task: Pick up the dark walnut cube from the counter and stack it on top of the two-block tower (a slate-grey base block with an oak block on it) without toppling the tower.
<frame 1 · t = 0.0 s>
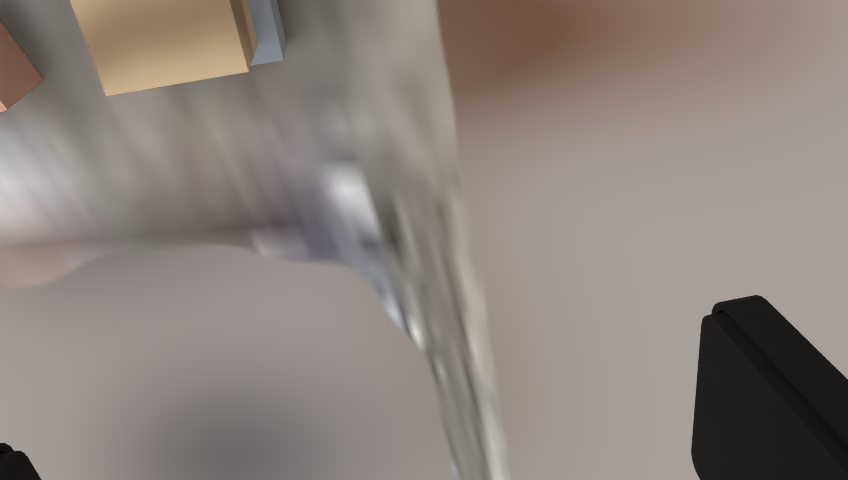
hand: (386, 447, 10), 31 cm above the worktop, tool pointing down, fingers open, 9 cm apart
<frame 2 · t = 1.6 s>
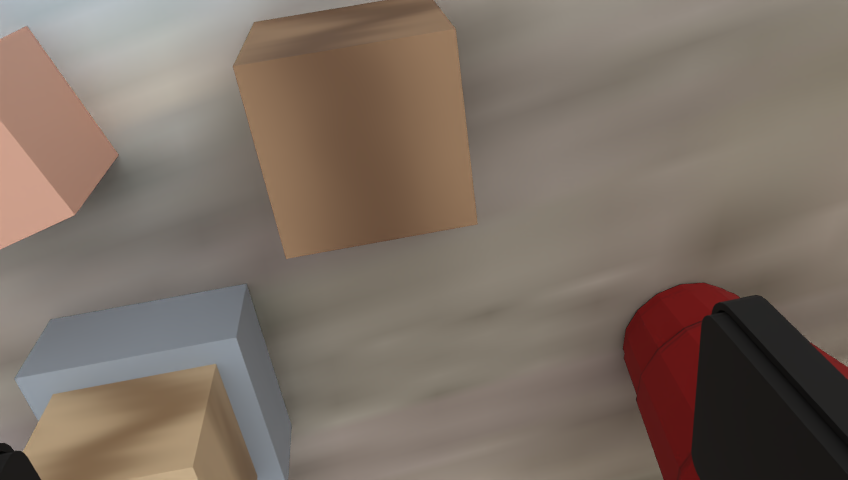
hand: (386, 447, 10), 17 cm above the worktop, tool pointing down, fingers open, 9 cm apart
plastic cup: (683, 330, 32), on the worktop
walnut cube: (357, 91, 25), on the worktop
oak block: (161, 437, 27), point 4 cm above the worktop, touching base block
terracotta block: (13, 122, 24), on the worktop
base block: (181, 371, 30), on the worktop, touching oak block
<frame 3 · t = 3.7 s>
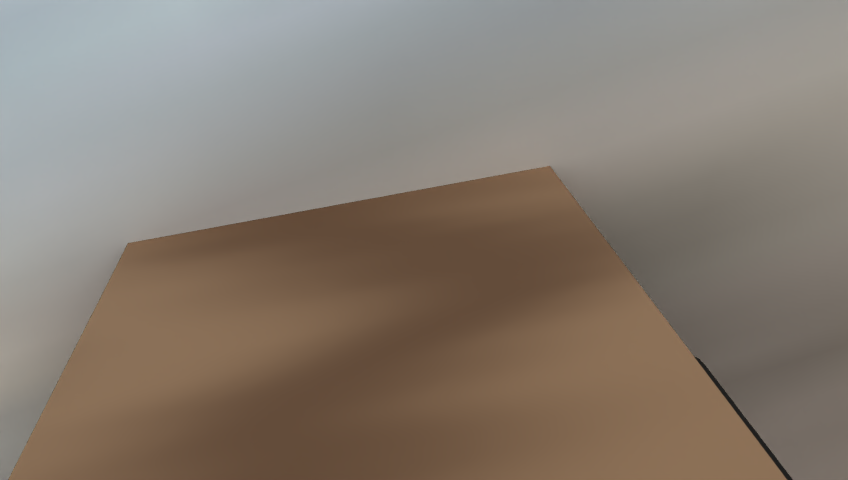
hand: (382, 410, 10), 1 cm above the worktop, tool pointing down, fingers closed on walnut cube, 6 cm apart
walnut cube: (378, 367, 11), on the worktop, touching gripper
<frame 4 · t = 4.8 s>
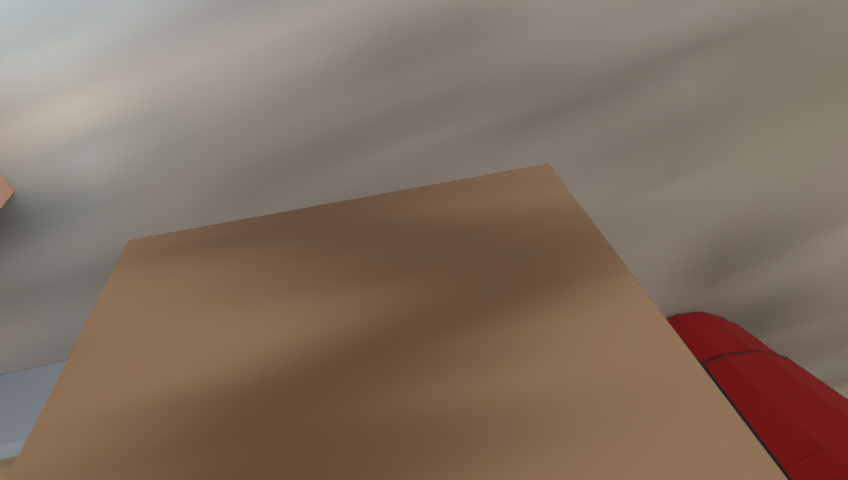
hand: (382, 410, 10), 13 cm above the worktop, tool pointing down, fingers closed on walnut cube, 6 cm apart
plastic cup: (679, 363, 29), on the worktop
walnut cube: (377, 365, 11), point 12 cm above the worktop, touching gripper
base block: (117, 433, 26), on the worktop
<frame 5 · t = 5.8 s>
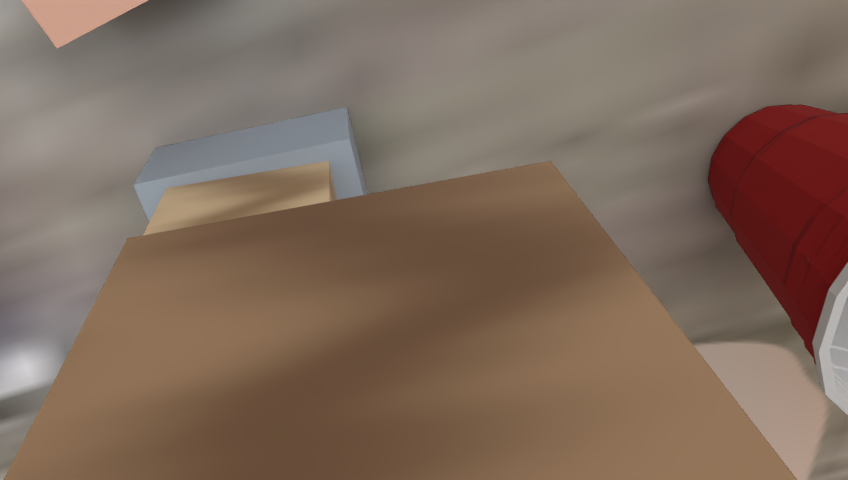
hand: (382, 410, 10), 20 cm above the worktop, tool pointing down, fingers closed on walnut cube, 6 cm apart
plastic cup: (768, 161, 32), on the worktop
walnut cube: (378, 363, 11), point 19 cm above the worktop, touching gripper
oak block: (267, 244, 27), point 4 cm above the worktop, touching base block
base block: (278, 209, 30), on the worktop, touching oak block
when the fingers open (11 cm above the worktop, at t = 8.0 s): walnut cube drops 1 cm, resting on oak block.
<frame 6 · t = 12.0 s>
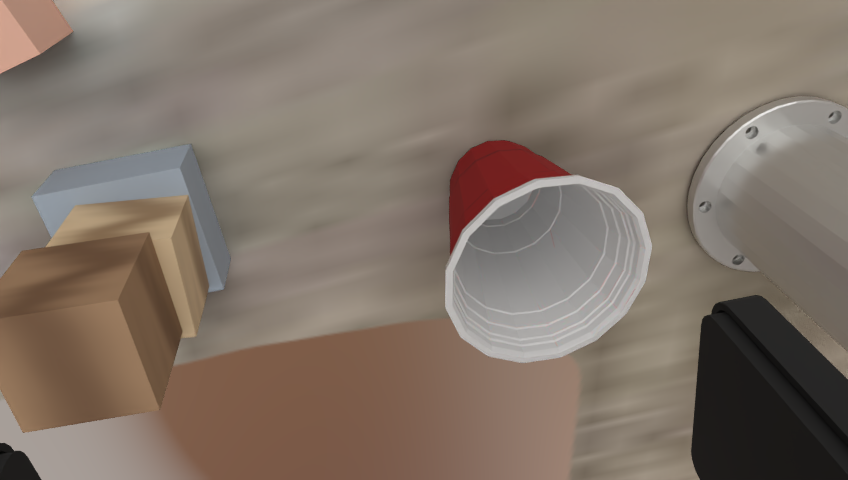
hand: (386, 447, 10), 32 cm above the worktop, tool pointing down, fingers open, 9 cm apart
plastic cup: (496, 180, 44), on the worktop
walnut cube: (106, 293, 34), point 9 cm above the worktop, touching oak block
oak block: (145, 247, 39), point 4 cm above the worktop, touching base block, walnut cube
terracotta block: (1, 6, 35), on the worktop
base block: (148, 214, 42), on the worktop, touching oak block
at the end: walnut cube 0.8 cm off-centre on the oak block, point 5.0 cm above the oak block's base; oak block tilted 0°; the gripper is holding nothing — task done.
